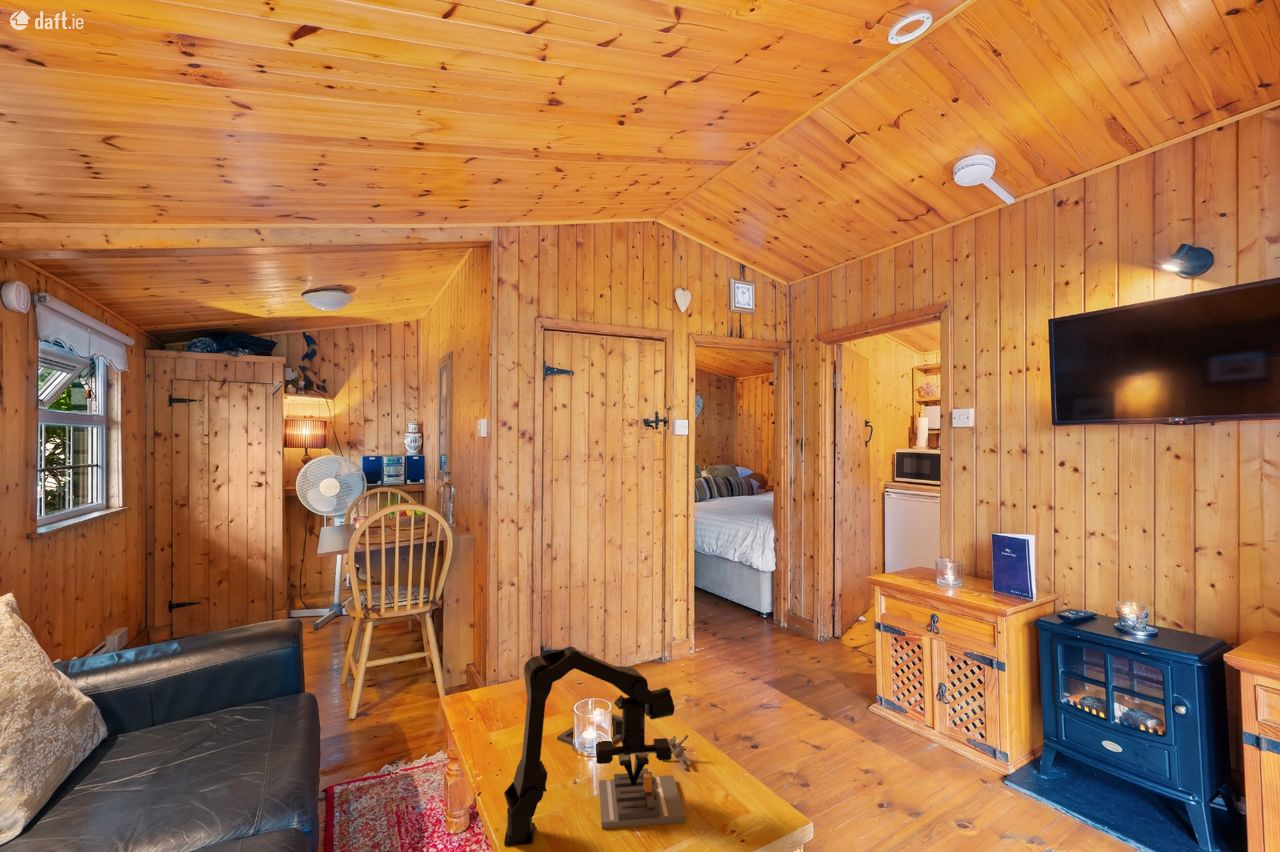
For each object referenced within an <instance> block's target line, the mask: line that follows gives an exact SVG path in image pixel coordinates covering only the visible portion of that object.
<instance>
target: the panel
mask: <svg viewBox="0 0 1280 852" xmlns="http://www.w3.org/2000/svg"><path fill="white" fill-rule="evenodd" d="M652 772H653V771H649V768H648V767H644V768H643V769H642V771H641V773H640V775H639V777H638V780H637V782H636V785H635V786H634V785H633V786H632V784H631V781H630V778H629V775H628V773H627V772H626V773H614V774H613V778H610V779H599V780H598V791H599V809H600V821H601V822H600V823H601V824H600V825H601V830H604V829H605V830H606V829H618V828H630V827H631V828H632V827H643V826H644V827H645V826H654V825H655V826H656V825H667V824H679V823H680V824H681V823H686V815H685V811H684V808H683V803H682V801H681V797H680V793H679V789H678V786H677V783H676V779H675V776H674V774H669V775H668V774H667V775H655V776H653V774H652ZM644 774H651V778H652V792H646V793H645V791H644Z"/></svg>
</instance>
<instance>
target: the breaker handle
mask: <svg viewBox="0 0 1280 852" xmlns="http://www.w3.org/2000/svg"><path fill="white" fill-rule="evenodd" d="M644 791H645V793H646V792H652V778H651V774H644Z"/></svg>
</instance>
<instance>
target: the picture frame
mask: <svg viewBox="0 0 1280 852" xmlns="http://www.w3.org/2000/svg"><path fill="white" fill-rule="evenodd" d="M611 714H612V726H613V737H612V743H613V745H615V744H616V743H618V742H619V741H621V735H615V721H622V716H619V715H616V714H614V713H611ZM573 727H574V726H572V727H570V728H569V729H567V730H565V731H564V732H562V733H561V734H559V735H557V738H556V740H557V741H560V742H562V743H564V744H567V745H570V746H573ZM618 740H619V741H618ZM617 741H618V742H617ZM615 742H616V743H615ZM614 743H615V744H614ZM573 747H574V746H573Z"/></svg>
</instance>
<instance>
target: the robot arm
mask: <svg viewBox="0 0 1280 852" xmlns="http://www.w3.org/2000/svg"><path fill="white" fill-rule="evenodd" d="M572 670H578V671H579V672H582V673H584V674H587V675H589V676H592V677H594V678H597V679H599V680H601V681H604V682H606V683H609V684H610V685H612V686H614V687H615V688H616V689H618V690H619V691H620V692H622V693H623V694H624V695H626V697H624V696H623V695H622V694H620V695H619V697H618V698H617V699H615V701H614V702H613V703H614V705H615V706H616V707H617V709H618V710H621V713H622V714H621V715H622V716H621V717H622V721H615V735H621V739H620V743H621V745H618V746H616V745H615V746H613V745H612V742H611V741H602V742H598V743H597V744H596V755H595V757H596V764H598V765H604V764H606V765H607V764H610V763H611V762H612V761H613V759H614V756H618V761H619V765H620V767H624V770H625V772H626V773H628V775H629V778H630V781H631V784H632V786H633V785H634V786H635V785H636V782H637V780H638V777H639V775H640V773H641V771H642V769H644V768H645V766H646V765H649V764H650V760H649V756H650V755H649V754H655V756H656V757H655V758H656V759H657V760H658V761H659V762H660V761H662V760H664V761H670V760H672V757H673V756H672V755H673V753H672V752H671V748H672V746H670V743H669V739H668V738H667V737H663V738H661V737H660V738H653V740H652V741H653V742H652V743H653V744H648V743H645V741H646V740H645V738H646V737H645V736H646V732H645V731H646V726H645V725H646V720H645V719H646V717H649V719H650V720H656V719H661V718H665V717H666V718H667V717H671V716H673V715H674V714H675V704H674V700H673V697H672V695H671V690H670V689H669V688H668V687H662V688H660V689H654V690H651V689H649V684H648V680H647V678H645V677H644V675H642V674H641V673H640V672H639V671H638V670H637V669H636V668H634V667H630V666H623V665H621V666H619V665H614V664H612V663H609V662H607V661H605V660H602V659H600V658H597V657H595V656H593V655H590V654H588V653H586V652H583V651H581V650H578V649H577V648H576V647H574V646H567V647H564V648H562V649H560V650H556V651H551V652H547V653H544V654H542V655H536V656H532V657H530V658H529V659H528V660H527V661H526V662H525V663H524V668H523V674H524V684H525V689H526V690H525V691H526V697H527V701H526V710H525V711H526V712H525V721H524V733H523V741H522V742H523V743H522V751H521V758H520V760H519V763H518V764H517V767H516V770H515V774H514V778H513V781H512V782H511V784H510V785H509V786H508V787H507V789H506V790H505V791H504V793H503V795H504V798H505V801H506V804H507V809H506V811H507V815H506V816H507V817H506V819H507V821H506V822H507V823H506V831H505V836H504V841H503V844H504V846H515V845H516V846H517V845H528V844H532V843H534V839H535V828H536V823H535V822H533V817H534V816H535V813H536V810H537V807H538V804H539V802H541V801H542V800H543V797H544V794H545V793H546V792H547V788H546V784H547V779H548V771H547V769H546V767H545V765H544V762H543V760H541V754H542V744H543V734H544V733H543V732H544V723H545V713H546V712H545V711H546V701H547V699H548V697H549V695H550V693H551V691H552V686H553V684H554V683H555V682H558V680H561V679H562V678H563V677H565V676H566V675H567V674H568V673H570V672H571V671H572ZM645 716H646V717H645ZM631 755H634V764H633V765H634V767H633V765H632V759H631ZM662 762H663V761H662ZM544 792H545V793H544Z"/></svg>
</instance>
